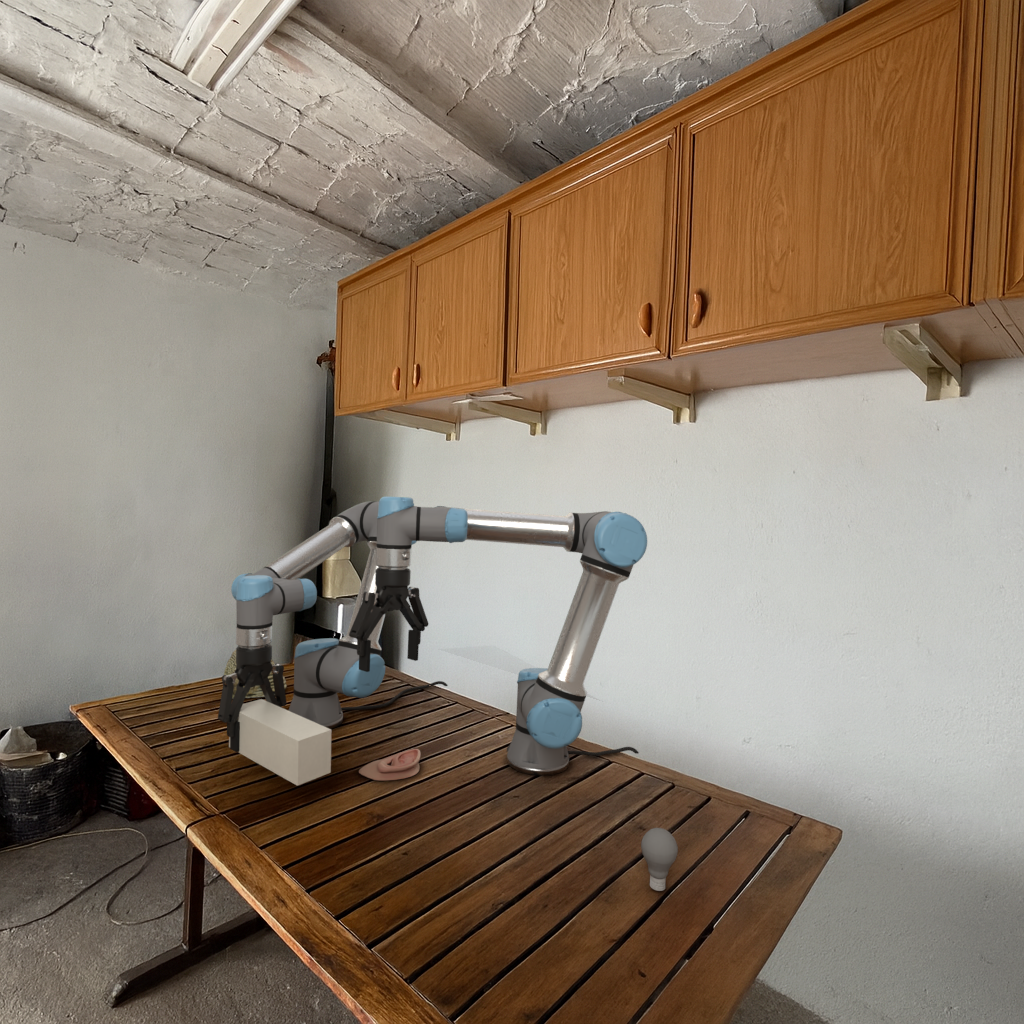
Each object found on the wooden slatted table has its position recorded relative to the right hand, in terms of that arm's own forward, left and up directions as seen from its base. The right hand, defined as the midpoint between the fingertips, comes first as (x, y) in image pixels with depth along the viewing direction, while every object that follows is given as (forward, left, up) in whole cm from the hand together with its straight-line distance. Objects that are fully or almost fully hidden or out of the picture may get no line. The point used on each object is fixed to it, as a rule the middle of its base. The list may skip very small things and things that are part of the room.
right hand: (389, 664), depth 138 cm
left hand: (+25, -19, -21) cm, 38 cm away
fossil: (+20, -77, -27) cm, 84 cm away
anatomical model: (-4, -8, -27) cm, 29 cm away
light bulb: (-32, +53, -27) cm, 67 cm away
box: (+21, -10, -21) cm, 32 cm away
